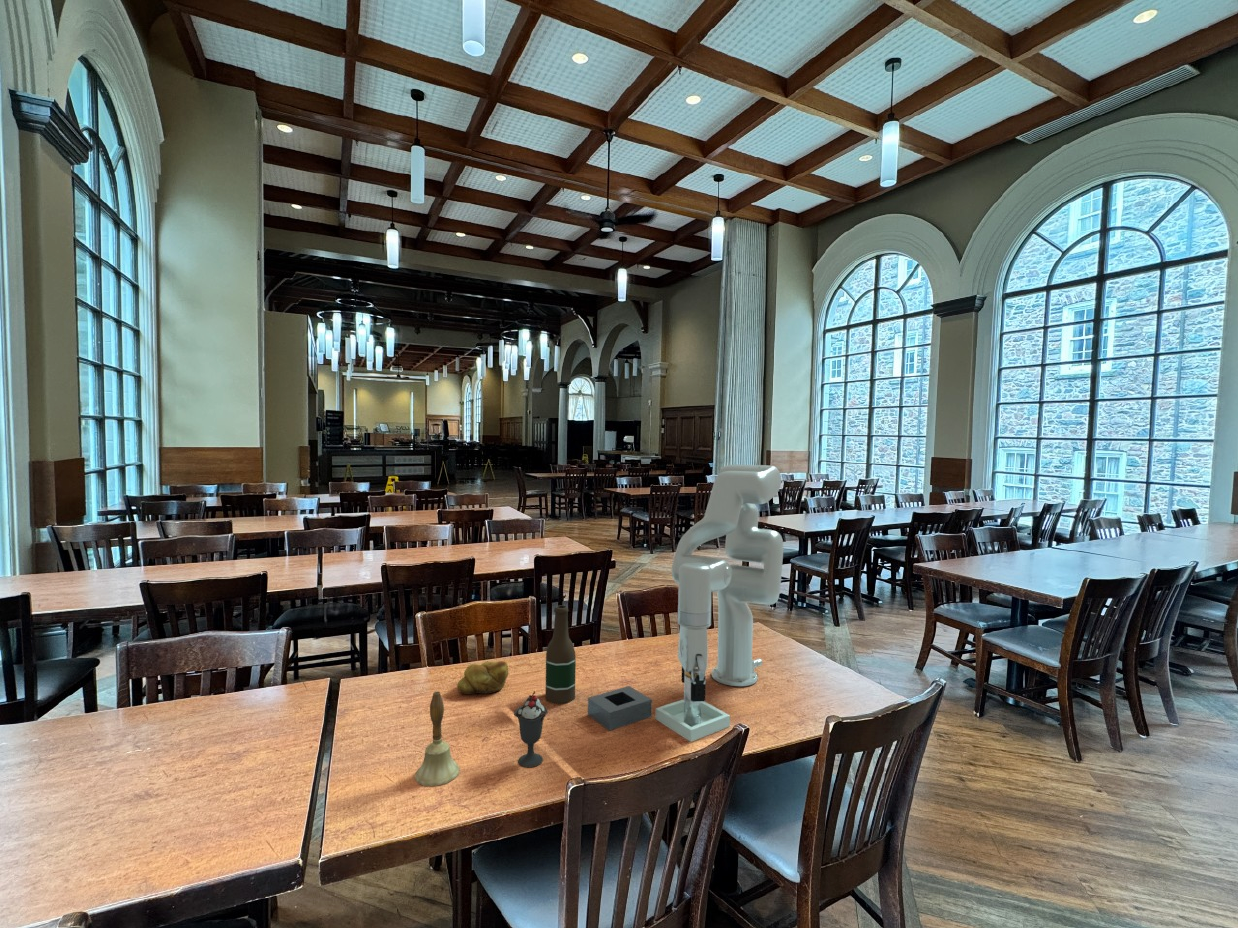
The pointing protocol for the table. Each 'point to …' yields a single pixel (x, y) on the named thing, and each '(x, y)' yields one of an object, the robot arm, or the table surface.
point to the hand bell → (437, 752)
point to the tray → (709, 724)
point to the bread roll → (483, 678)
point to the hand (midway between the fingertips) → (692, 691)
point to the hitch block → (619, 707)
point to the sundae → (530, 728)
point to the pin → (691, 703)
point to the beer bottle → (560, 661)
